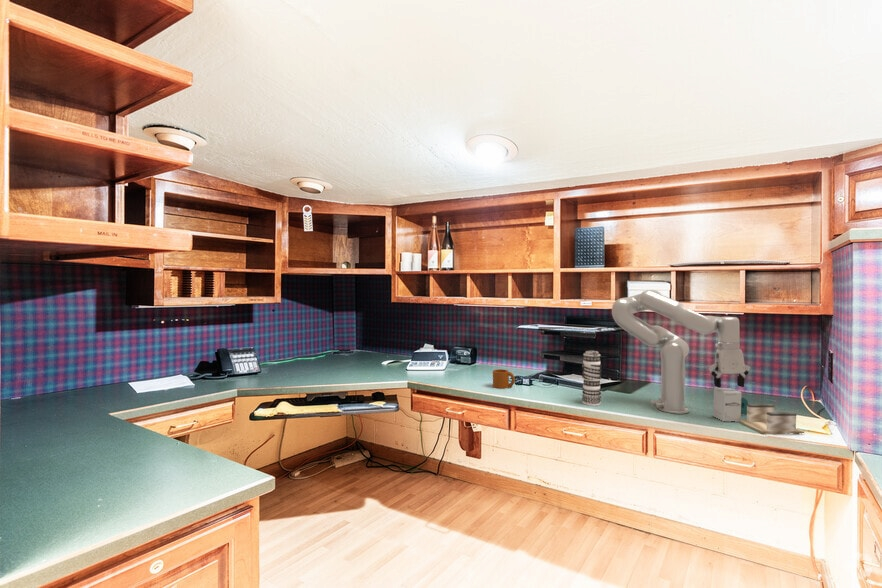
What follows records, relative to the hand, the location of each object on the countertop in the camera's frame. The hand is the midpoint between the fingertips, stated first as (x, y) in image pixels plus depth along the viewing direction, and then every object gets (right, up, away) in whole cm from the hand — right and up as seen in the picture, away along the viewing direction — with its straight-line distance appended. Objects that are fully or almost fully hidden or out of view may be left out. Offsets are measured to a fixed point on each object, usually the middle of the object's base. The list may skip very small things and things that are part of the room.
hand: (729, 386), depth 181 cm
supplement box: (0, -14, +1) cm, 14 cm away
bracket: (+15, -14, +11) cm, 23 cm away
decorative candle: (-49, -14, +25) cm, 57 cm away
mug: (-87, -13, +56) cm, 105 cm away
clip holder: (+9, -14, -10) cm, 20 cm away
